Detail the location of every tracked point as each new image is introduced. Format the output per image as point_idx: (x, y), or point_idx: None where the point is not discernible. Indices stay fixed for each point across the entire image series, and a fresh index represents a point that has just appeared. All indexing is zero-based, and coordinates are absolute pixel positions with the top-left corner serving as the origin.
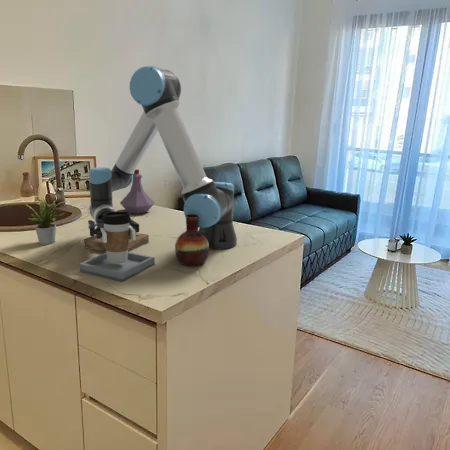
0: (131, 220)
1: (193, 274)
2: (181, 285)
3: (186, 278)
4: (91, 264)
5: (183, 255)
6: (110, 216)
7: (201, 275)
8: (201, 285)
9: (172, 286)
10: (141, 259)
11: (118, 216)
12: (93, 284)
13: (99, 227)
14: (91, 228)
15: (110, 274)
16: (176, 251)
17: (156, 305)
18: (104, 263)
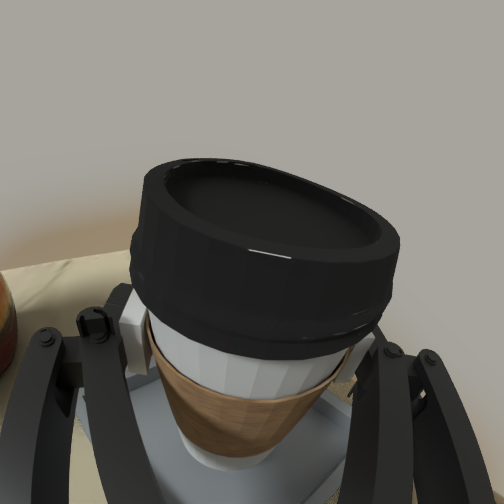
0: (6, 482)
1: (48, 299)
2: (111, 275)
3: (77, 291)
4: (337, 463)
5: (14, 308)
6: (317, 185)
7: (42, 288)
8: (82, 262)
9: (130, 278)
10: None
11: (262, 167)
12: None
13: (386, 361)
14: (426, 349)
15: None
16: (6, 328)
17: None
18: (282, 478)
